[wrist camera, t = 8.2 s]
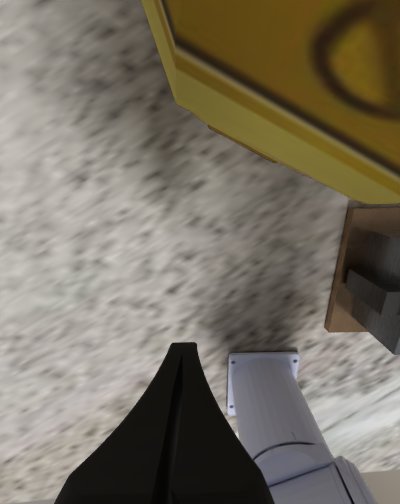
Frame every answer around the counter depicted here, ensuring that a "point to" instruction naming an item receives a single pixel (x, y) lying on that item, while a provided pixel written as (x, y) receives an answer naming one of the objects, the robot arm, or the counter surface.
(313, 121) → the container
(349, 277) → the knob box on board
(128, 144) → the counter surface
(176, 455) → the robot arm
